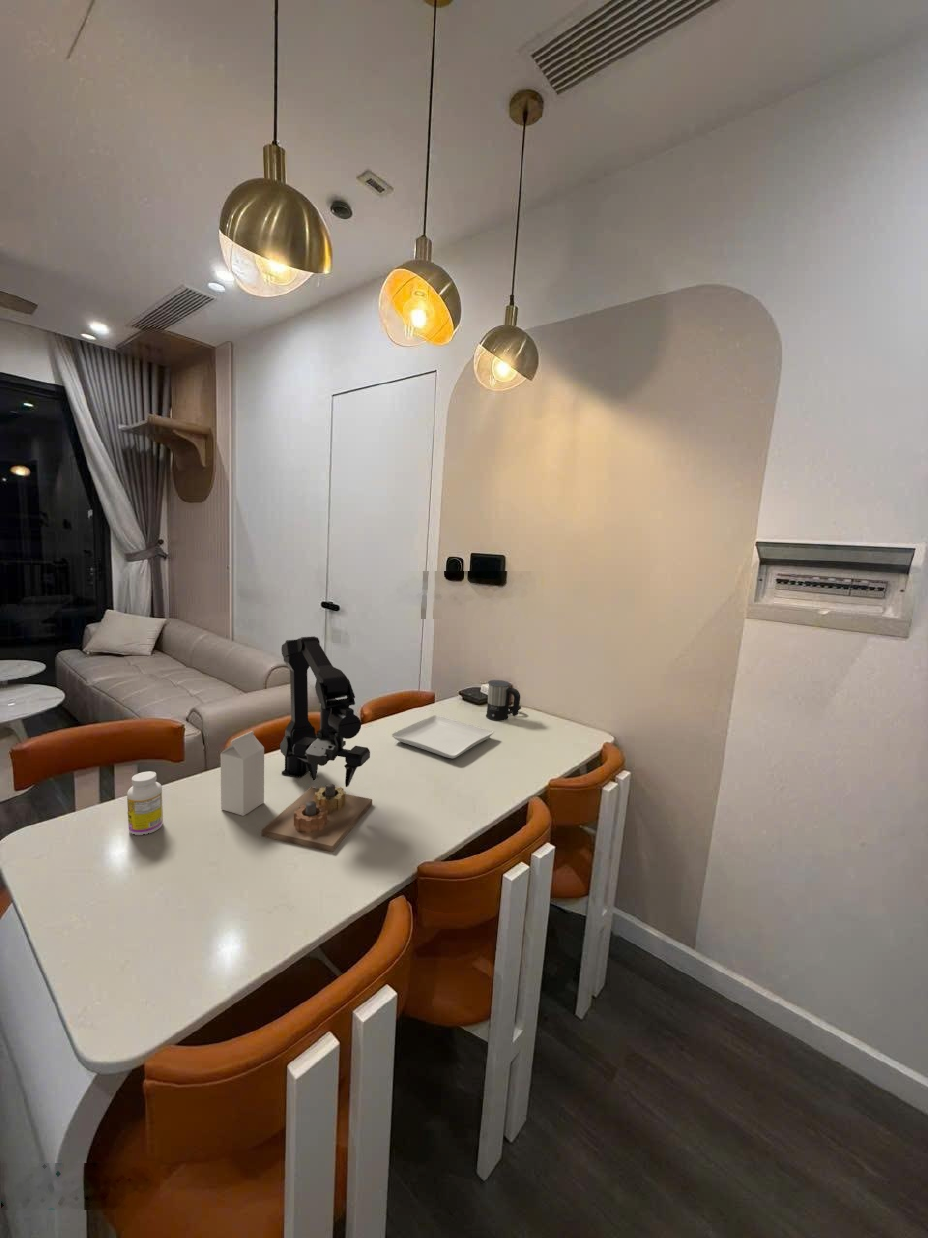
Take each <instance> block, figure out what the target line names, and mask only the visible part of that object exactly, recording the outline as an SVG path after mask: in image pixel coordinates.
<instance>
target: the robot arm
mask: <svg viewBox="0 0 928 1238" xmlns="http://www.w3.org/2000/svg"><path fill="white" fill-rule="evenodd" d="M281 655H282V657H283V662H284V663H285V665H286V666H287V667H288V668H287V669H288V670H289V678H290V679H289V681H290V683H289V686H290V721H289V723H288V725H287V726H286V727H285V730H284V734H285V735H284V736H283V738H282V741H281V742H280V744H279V749H280V753H281V754H282V756H284V769H283V770H282V771H281V775H285V776H291V777H295V778H302V777H303V776H305V775H306V774H308V773H309V774H310V777H311V779H312V781H316V779H317V776H318V770H319V769H318V767H320V766H321V767H323V766H325V765H327V763H328V762H330V761H331V762H333V761H335V760H336V758H337V757H340V758H345V763H346V764H344V767H345V783H344V784H345V787H346V788H348V787H349V786H350V783H351V781H352V779H353V777H354V774H355V772H356V771H357V769H358V768H359V767H362V766H363V765H364V764H365V763H366V762H367V761H368V760H370V758H371V750H370V749H369V748H368V747H365V746H360V745H354V746H353V747H352V748H351V749H347V748H344V747H346V742H347V741H346V740H347V739H348V740H350V739H353V738H354V737H356V736H357V735H358V734H359V732H360V730H361V728H362V722H361V719H360V718H359V717H358V715H356V714H354V713H355V710H354V709H353V708H351V707H350V706H355V705H356V702H355V698H356V695H355V693H354V689H353V687H352V685H351V682H350V680H349V678H348V677H347V675H346V674H345V673H344V672H343V670H341V669H339V668H336V667H334V666H333V664H332V663H331V661H330V659H329V657H328V655H327V654H326V653H325V651H324V649H323V648H322V646H321V645H320V639H319V637H318V636H314V635H313V636H301V637H299V638H297V639H286V640H285V642H284V643H283V644H282V645H281ZM309 668H310V670H311V671H312V673H313V675H314V676H315V679H316V681H315V684H314V688H315V694H316V696H317V698H318V703H319V704H320V715H319V718H320V719H319V729H318V730H317V732H316V728H315V727H314V726H313V725H312V723H311V721H310V720H309V695H308V694H309V693H308V692H309V691H308V689H309V688H308V669H309ZM344 739H345V740H344Z"/></svg>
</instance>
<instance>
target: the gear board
mask: <svg viewBox="0 0 928 1238" xmlns="http://www.w3.org/2000/svg"><path fill="white" fill-rule="evenodd" d="M335 787H336V784H334V783H328V784H326V785H325V786H324V788H325V797H329V798H330V797H334V796H335ZM319 789H320V788H318V787H314V786H313V787H312V786H311V787H309V788H308V789H307V790H306V791H305V792H303V793H302V794H301V795H300V796H299V797H298V798H296V799H295V800H294V801H293V802H292V803H290V805H288V806H287V807H286V808H285V809H284V810H282V811H281V813H279V814H278V815H277V816H276V817H275V818H273V819H272V820H271V821H270V822H269V823H267V825H265V826H264V827H263V828H262V829H261V837H265V838H269V839H272V840H273V839H275V840H278V841H282V842H287V843H291V844H295V845H299V846H304V847H309V848H313V849H318V850H321V851H326V852H330V853H333V852H334V851H335V850H336V848H337V847H338V846H339V845H340V844H341V842H342V841H343V840H344V839H345V837H346V836H347V835H348V834H349V833H350V831H352V830H353V828H354V827H355V825H357V823H358V822H359V821H360V820H361V819H362V817H363V816H364V815H365V814H366V812H367V811H368V810H369V809H370V808H371V806H372V805H373V799H372V798H368V797H363V796H357V795H353V794H349V793H346V800H345V805H342V808H341V809H340V810H333V811H331V812H328V810H326V806H324V805H316V802H314V797H315V792H318V791H319Z"/></svg>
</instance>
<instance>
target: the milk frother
mask: <svg viewBox="0 0 928 1238" xmlns="http://www.w3.org/2000/svg"><path fill="white" fill-rule="evenodd" d="M487 685H488V693H487V707H486V715H485V716H486V718H487V719H488V720H492V721H496V722H500V721H501V722H504V721H506V720H508V718H509V715H511V714H512V716H513V717H517V716H518V714H519V711H520V710H521V709H522V706H521V705H520V702H521V693H520V691H519V690H517V689H516V688H514V687H510V686H511V683H510V682H509V681H506V680H502V679H493V680H488V682H487ZM511 695H512V696H513V704H512V705H511V704H510V698H511Z"/></svg>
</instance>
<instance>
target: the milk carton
mask: <svg viewBox="0 0 928 1238" xmlns="http://www.w3.org/2000/svg"><path fill="white" fill-rule="evenodd" d="M254 732H255V731H254V730H251V731H249V732H247V733H244V734H242V735H240V736H238V737H235V738H233V739H232V740H231V741H230V745H229V746H228V747H227V748H225V749H224V750H223V751H222V752H220V810H223V811H226V812H229V813H233V814H235V815H239V816H242V817H244V816H247V814H249V813H251V812H252V811H253V810H255V809H256V808H258V807H259V806H261V805H262V804H264V803H265V747H264V746H263V744H262V743H261V742H260V741H259V739H258V738H257V737H256V736H255V735H254Z"/></svg>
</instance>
